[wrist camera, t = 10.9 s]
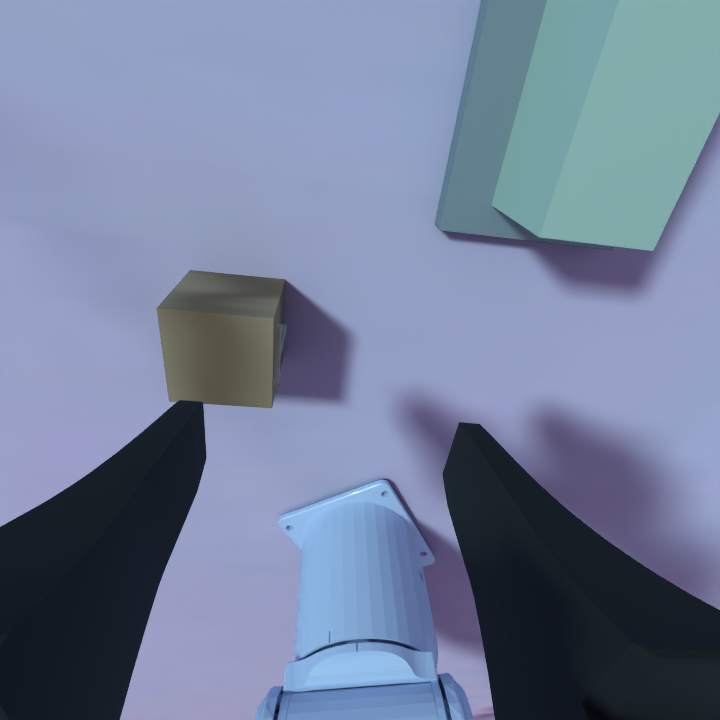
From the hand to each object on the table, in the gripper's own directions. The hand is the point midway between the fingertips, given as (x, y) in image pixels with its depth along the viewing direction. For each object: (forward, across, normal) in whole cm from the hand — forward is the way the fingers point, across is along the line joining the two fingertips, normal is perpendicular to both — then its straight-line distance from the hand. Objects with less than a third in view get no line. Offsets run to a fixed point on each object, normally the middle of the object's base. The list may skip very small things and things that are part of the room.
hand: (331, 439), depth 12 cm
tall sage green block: (+9, -8, -9) cm, 16 cm away
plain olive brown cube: (+10, +5, +2) cm, 11 cm away
